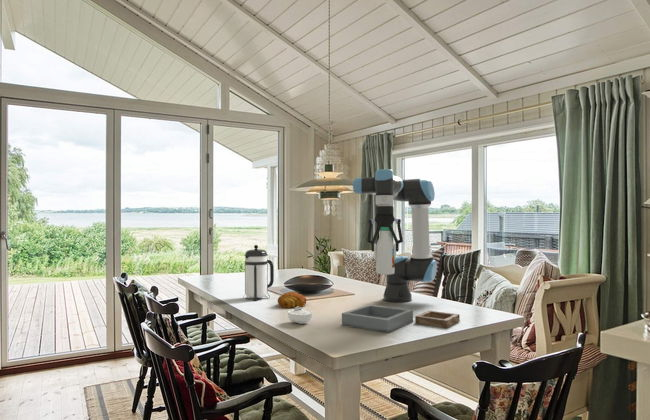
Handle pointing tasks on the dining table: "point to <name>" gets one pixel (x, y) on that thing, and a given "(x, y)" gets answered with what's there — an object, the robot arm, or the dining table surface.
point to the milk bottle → (385, 253)
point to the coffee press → (257, 273)
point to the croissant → (291, 300)
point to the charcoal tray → (377, 318)
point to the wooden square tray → (437, 319)
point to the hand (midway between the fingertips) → (385, 259)
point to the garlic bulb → (299, 315)
